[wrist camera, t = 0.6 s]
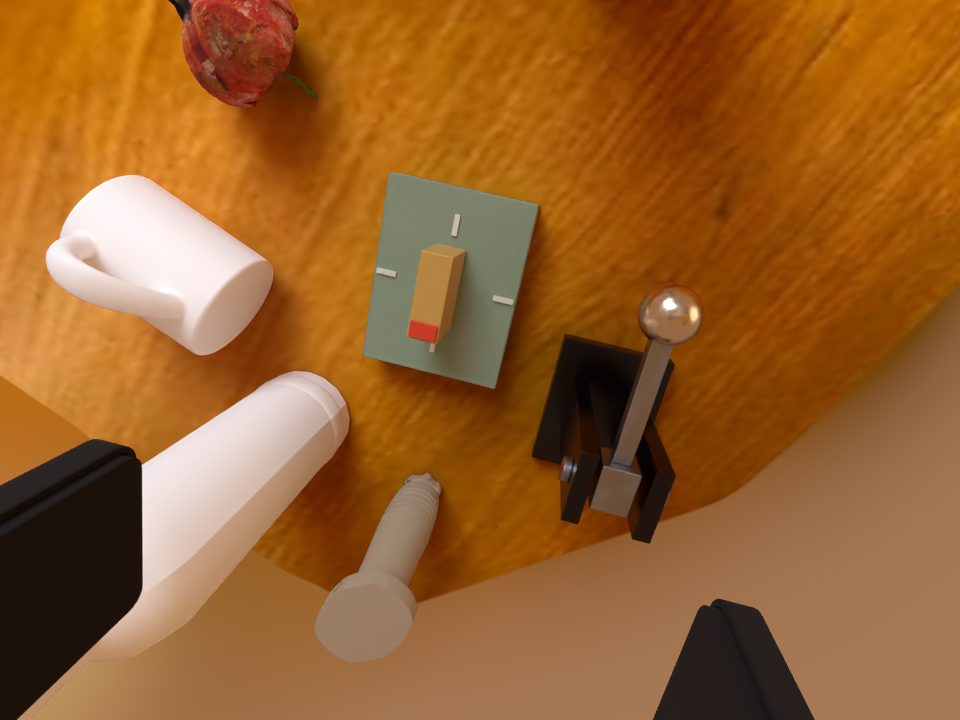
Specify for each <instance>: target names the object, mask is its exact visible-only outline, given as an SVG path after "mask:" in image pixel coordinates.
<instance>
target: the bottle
mask: <svg viewBox="0 0 960 720" xmlns="http://www.w3.org/2000/svg"><path fill="white" fill-rule="evenodd" d="M349 421H350V417H349V413H348V409H347V405H346V402H345V401H344V399H343V397H342V396H341V394H340V393H339V391H338V389H336V388H335V387H334V386H333V385H332V384H331V383H329V382H328V381H327V380H326V379H325V378H322V377H320V376H318V375H315V374H313V373H310V372H302V371H292V372H288V373H285V374H282V375H279V376H278V377H276V378H274V379H272V380H269V381H267V382H266V383H264V384H263V385H262V386H260V387H259V388H258V389H257V390H255V391H254V392H253V393H252V394H250V395H249V396H247V397H245V398H244V399H242V400H241V401H239V402H238V403H236V404H235V405H233V406H232V407H230V408H229V409H227V410H226V411H224V412H223V413H221V414H219V415H218V416H216V417H215V418H213V419H212V420H210V421H209V422H207V423H206V424H204V425H203V426H201V427H200V428H198V429H197V430H195V431H194V432H192V433H190V434H189V435H187V436H186V437H184V438H183V439H181V440H180V441H178V442H177V443H175V444H174V445H172V446H171V447H169V448H168V449H166V450H164V451H163V452H161V453H160V454H158V455H157V456H155V457H154V458H152V459H151V460H149V461H148V462H146V463H145V464H143V465H142V531H143V587H142V592H141V595H140V597H139V599H138V601H137V603H136V604H135V606H134V607H133V608H132V609H131V610H130V611H129V612H128V613H127V614H126V615H125V616H124V617H123V618H122V619H121V620H120V621H119V622H118V623H117V624H116V625H115V626H114V627H113V628H112V629H111V630H110V631H109V632H108V633H107V634H106V635H105V636H104V637H102V638H101V639H100V640H99V641H98V642H97V643H96V644H95V645H94V646H93V647H92V648H91V649H90V650H89V651H88V652H87V653H86V654H85V655H84V656H83V657H82V658H81V659H80V660H79V661H78V662H77V663H75V664H74V665H73V666H72V667H71V668H70V669H69V670H68V671H67V672H66V673H65V674H64V675H63V676H62V677H61V678H60V679H59V680H58V681H57V682H56V683H55V684H54V685H53V686H52V687H51V688H50V689H49V690H47V691H46V692H45V693H44V694H43V695H42V696H41V697H40V698H39V699H38V700H37V701H36V702H35V703H34V704H33V705H32V706H31V707H30V708H29V709H28V710H27V711H26V712H25V713H24V714H23V715H22V716H20V717H19V718H18V719H17V720H30V719H32V718H33V717H34V716H35V715H36V714H37V713H38V712H39V711H40V710H41V709H42V708H43V707H44V706H45V705H46V704H47V703H48V702H49V701H50V700H51V699H52V698H53V697H54V696H55V695H56V694H57V693H58V692H59V691H60V690H61V689H62V688H63V687H64V686H65V685H66V684H67V683H68V682H69V681H70V680H71V679H72V678H73V677H74V676H75V675H76V674H77V673H78V672H79V671H80V670H81V669H82V668H83V667H84V666H85V665H86V664H87V663H88V662H99V661H114V660H119V659H126V658H132V657H134V656H136V655H137V654H139V653H141V652H142V651H144V650H146V649H148V648H149V647H151V646H153V645H154V644H156V643H157V642H159V641H160V640H162V639H163V638H165V637H166V636H168V635H169V634H171V633H172V632H174V631H176V630H177V629H178V628H180V627H181V626H183V625H184V624H186V623H187V622H189V621H190V619H191V618H192V617H193V616H194V615H195V614H196V612H197V611H198V610H199V609H200V608H201V606H202V605H203V604H204V603H205V602H206V601H207V600H208V599H209V597H210V596H211V595H212V594H213V593H214V592H215V590H216V589H217V588H218V587H219V586H220V584H221V583H222V582H223V581H224V580H225V579H226V578H227V576H228V575H229V574H230V573H231V572H232V570H233V569H234V568H235V567H236V566H237V565H238V564H239V563H240V561H241V560H242V559H243V558H244V557H245V556H246V554H247V553H248V552H249V551H250V550H251V549H252V547H253V546H254V545H255V544H256V543H257V542H258V540H259V539H260V538H261V537H262V536H263V535H264V534H265V532H266V531H267V530H268V529H269V528H270V527H271V525H272V524H273V523H274V522H275V521H276V520H277V518H278V517H279V516H280V515H281V514H282V513H283V511H284V510H285V509H286V508H287V507H288V506H289V504H290V503H291V502H292V501H293V500H294V499H295V498H296V496H297V495H298V494H299V493H300V492H301V491H302V489H303V488H304V487H305V486H306V485H307V484H308V482H309V481H310V480H311V479H312V478H313V477H314V475H315V474H316V473H317V472H318V471H319V470H320V469H321V467H322V466H323V465H324V464H326V463H327V462H328V461H329V460H330V459H331V458H332V457H333V455H334V454H335V453H336V451H337V449H338V448H339V446H340V445H341V444H342V442H343V440H344V439H345V437H346V435H347V434H348V428H349Z"/></svg>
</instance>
